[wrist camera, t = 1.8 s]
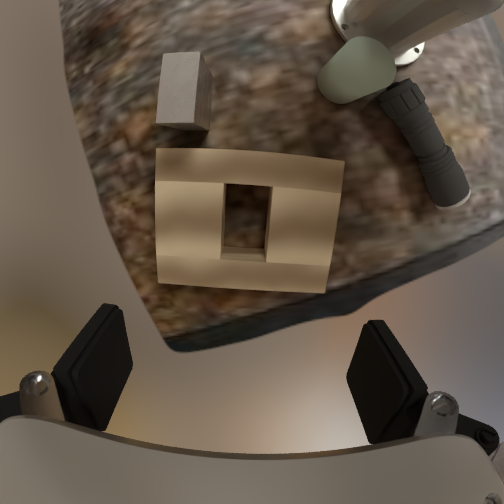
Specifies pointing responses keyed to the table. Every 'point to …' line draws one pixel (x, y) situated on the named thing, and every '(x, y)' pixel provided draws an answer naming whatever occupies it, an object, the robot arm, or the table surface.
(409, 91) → the flashlight
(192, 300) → the table surface
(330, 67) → the round bit
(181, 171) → the socket block
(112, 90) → the table surface
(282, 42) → the table surface
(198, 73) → the block
